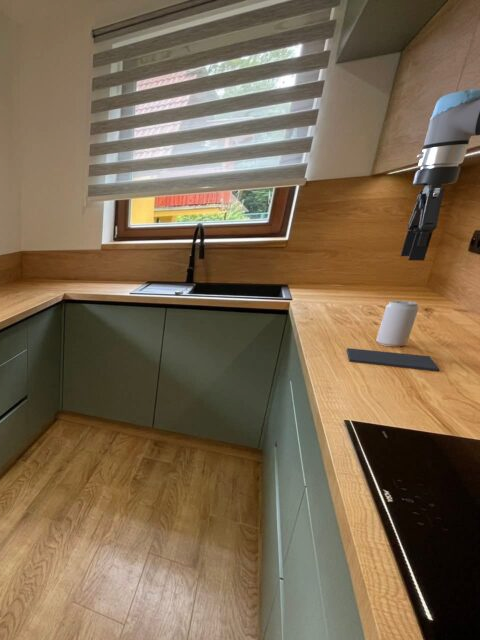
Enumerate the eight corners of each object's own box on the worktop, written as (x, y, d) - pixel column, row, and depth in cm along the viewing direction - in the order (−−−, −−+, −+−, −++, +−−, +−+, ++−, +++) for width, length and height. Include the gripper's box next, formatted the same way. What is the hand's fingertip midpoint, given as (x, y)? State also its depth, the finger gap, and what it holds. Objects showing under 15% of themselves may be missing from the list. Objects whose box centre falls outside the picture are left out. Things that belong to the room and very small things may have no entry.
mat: (428, 358, 108) (429, 356, 108) (439, 371, 100) (439, 369, 99) (346, 350, 118) (347, 348, 117) (349, 361, 109) (349, 359, 109)
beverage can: (400, 342, 122) (413, 300, 118) (410, 348, 117) (424, 304, 113) (371, 340, 125) (383, 299, 121) (380, 346, 119) (393, 303, 115)
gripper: (408, 172, 115) (386, 254, 122) (426, 165, 96) (398, 262, 103) (449, 169, 110) (423, 254, 117) (475, 160, 92) (442, 262, 99)
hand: (411, 258), depth 110 cm, fingers open, 13 cm apart
